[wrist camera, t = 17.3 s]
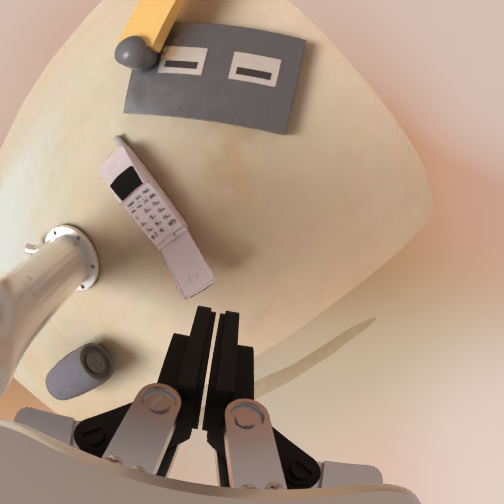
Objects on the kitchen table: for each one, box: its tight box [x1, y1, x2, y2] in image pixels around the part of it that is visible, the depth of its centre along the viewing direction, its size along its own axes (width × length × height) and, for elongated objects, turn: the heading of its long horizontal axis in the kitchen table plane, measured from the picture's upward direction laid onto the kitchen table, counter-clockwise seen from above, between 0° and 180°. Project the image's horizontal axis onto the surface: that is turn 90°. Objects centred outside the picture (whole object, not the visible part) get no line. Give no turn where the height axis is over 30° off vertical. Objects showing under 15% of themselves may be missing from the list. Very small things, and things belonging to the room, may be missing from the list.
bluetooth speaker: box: [46, 343, 113, 400], centre depth 48 cm, size 23×9×10 cm, turn 126°
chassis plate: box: [123, 23, 306, 135], centre depth 30 cm, size 22×14×2 cm, turn 78°
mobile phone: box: [99, 135, 215, 299], centre depth 36 cm, size 6×6×25 cm
